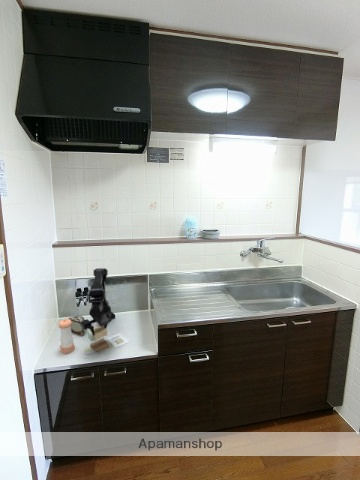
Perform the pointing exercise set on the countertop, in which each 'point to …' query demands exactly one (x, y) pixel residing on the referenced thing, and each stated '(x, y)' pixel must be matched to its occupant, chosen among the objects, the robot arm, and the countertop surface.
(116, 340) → the page
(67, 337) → the pepper shaker
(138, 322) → the countertop surface
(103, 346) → the walnut base
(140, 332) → the countertop surface
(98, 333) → the oak brick
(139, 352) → the countertop surface
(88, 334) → the sage brick
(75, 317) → the food container
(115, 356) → the countertop surface
